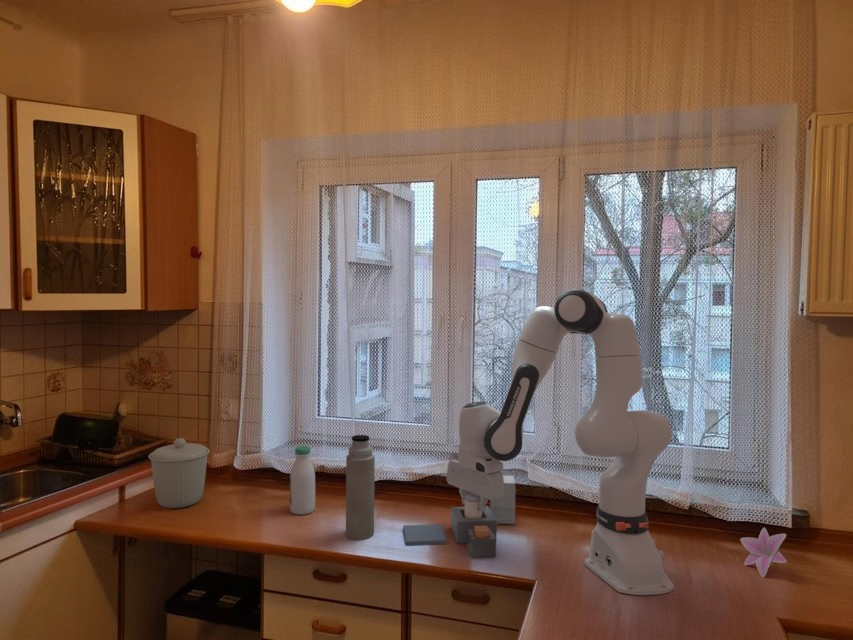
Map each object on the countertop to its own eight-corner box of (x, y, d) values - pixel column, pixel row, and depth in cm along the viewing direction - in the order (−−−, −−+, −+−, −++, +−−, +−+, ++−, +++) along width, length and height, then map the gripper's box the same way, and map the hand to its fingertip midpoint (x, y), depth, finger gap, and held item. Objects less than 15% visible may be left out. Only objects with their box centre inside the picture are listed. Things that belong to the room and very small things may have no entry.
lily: (739, 557, 151) (728, 529, 148) (786, 546, 148) (775, 517, 145) (757, 593, 140) (745, 563, 137) (808, 581, 136) (797, 551, 134)
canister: (170, 491, 193) (170, 430, 192) (220, 495, 190) (220, 433, 190) (136, 511, 175) (135, 444, 174) (190, 515, 173) (190, 447, 172)
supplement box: (513, 515, 176) (514, 475, 175) (515, 525, 168) (515, 483, 168) (489, 514, 176) (490, 474, 176) (490, 523, 169) (490, 481, 168)
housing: (496, 541, 156) (496, 520, 156) (457, 543, 155) (457, 521, 155) (487, 525, 167) (488, 505, 167) (450, 527, 166) (451, 507, 166)
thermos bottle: (361, 525, 166) (362, 431, 165) (379, 533, 161) (380, 436, 160) (340, 533, 160) (340, 436, 159) (358, 542, 155) (358, 441, 154)
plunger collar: (495, 557, 147) (496, 538, 147) (471, 558, 146) (471, 539, 146) (490, 546, 153) (490, 528, 153) (467, 547, 152) (467, 529, 152)
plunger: (489, 553, 148) (489, 530, 148) (476, 553, 148) (476, 531, 147) (486, 547, 151) (486, 525, 151) (473, 548, 151) (474, 525, 151)
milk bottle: (320, 509, 178) (320, 446, 178) (302, 517, 172) (302, 452, 171) (302, 504, 183) (302, 443, 182) (284, 512, 176) (284, 448, 175)
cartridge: (483, 537, 158) (483, 497, 158) (465, 537, 158) (466, 498, 158) (480, 530, 163) (480, 491, 163) (462, 530, 163) (463, 492, 163)
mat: (446, 543, 155) (446, 540, 155) (406, 545, 153) (406, 541, 153) (440, 527, 166) (440, 524, 166) (403, 528, 164) (403, 525, 164)
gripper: (441, 452, 166) (441, 499, 167) (491, 469, 150) (490, 520, 151) (457, 449, 170) (457, 494, 171) (507, 465, 154) (507, 515, 155)
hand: (473, 507), depth 161 cm, fingers closed on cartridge, 5 cm apart
